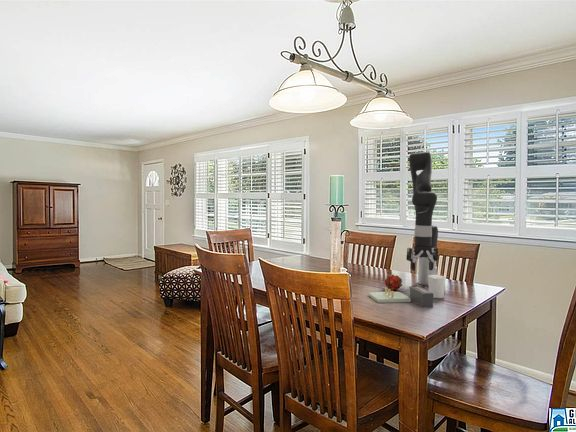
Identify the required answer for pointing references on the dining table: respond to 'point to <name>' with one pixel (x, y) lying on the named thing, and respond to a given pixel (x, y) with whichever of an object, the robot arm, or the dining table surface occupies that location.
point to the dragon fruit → (393, 282)
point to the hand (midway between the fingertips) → (421, 270)
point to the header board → (389, 296)
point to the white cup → (436, 285)
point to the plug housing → (421, 296)
